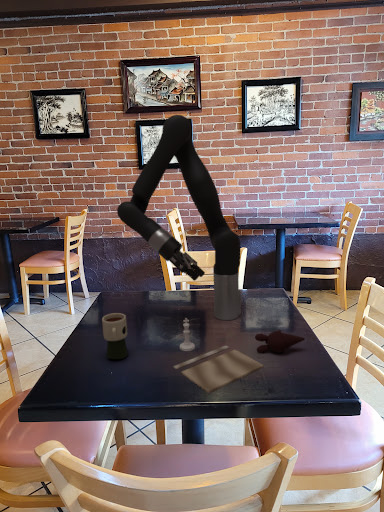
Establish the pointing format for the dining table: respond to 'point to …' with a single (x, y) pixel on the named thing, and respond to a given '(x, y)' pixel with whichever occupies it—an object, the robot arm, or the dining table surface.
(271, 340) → the dark brown lumpy figurine
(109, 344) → the character mug
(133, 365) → the dining table surface
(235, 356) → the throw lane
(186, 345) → the chess piece
